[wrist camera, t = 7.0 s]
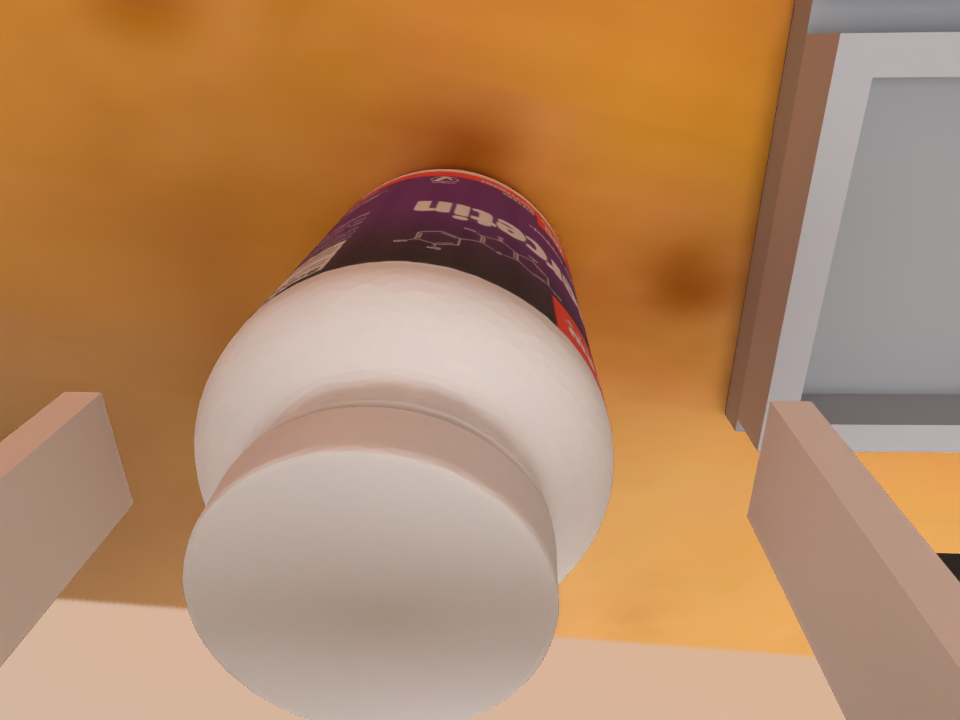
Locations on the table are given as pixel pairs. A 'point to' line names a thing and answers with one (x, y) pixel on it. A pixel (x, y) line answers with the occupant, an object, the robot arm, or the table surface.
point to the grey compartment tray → (860, 231)
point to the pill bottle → (401, 461)
